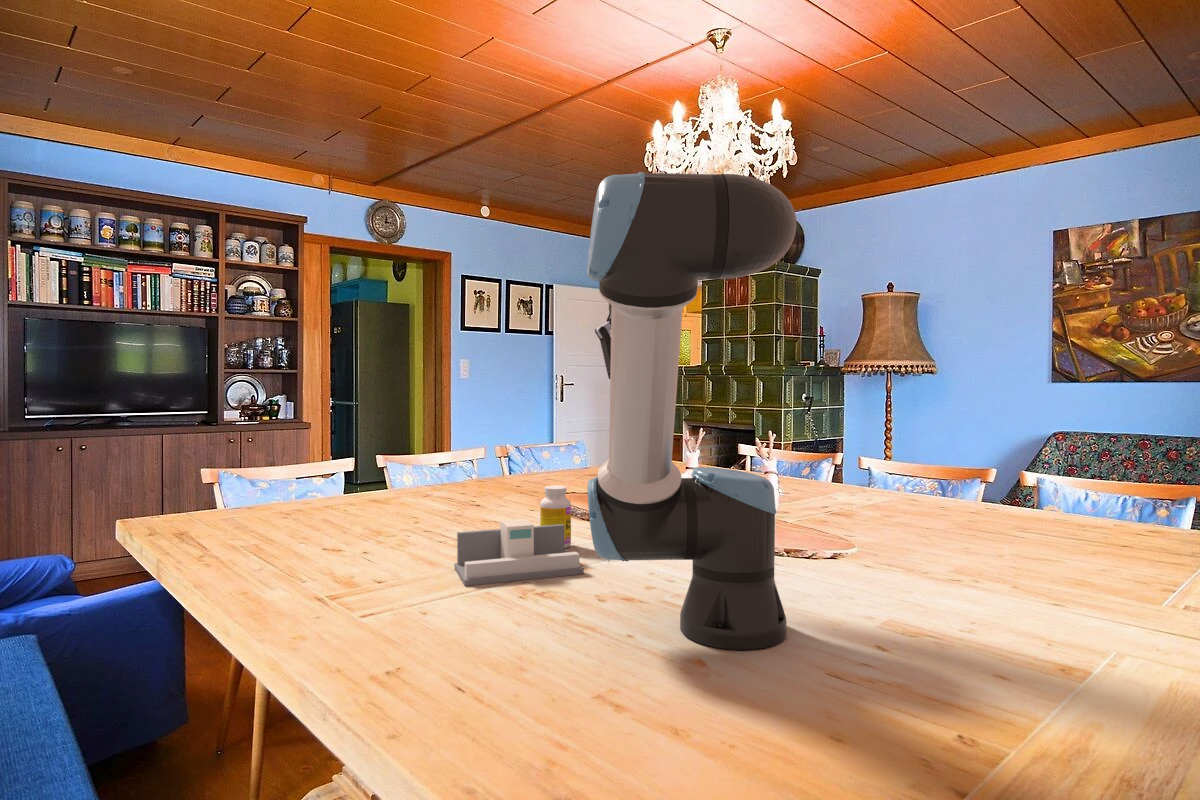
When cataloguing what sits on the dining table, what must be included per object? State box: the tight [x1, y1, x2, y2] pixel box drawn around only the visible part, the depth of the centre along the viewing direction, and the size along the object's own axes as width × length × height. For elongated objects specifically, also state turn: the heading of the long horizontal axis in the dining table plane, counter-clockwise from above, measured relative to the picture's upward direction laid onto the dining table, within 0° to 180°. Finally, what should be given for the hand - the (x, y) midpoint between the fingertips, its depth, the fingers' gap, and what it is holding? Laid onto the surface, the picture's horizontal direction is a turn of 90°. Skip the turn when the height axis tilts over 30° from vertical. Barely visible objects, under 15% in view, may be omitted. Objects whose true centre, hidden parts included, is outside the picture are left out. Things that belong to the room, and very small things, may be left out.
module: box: [499, 518, 535, 558], centre depth 135 cm, size 6×5×8 cm
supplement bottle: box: [539, 485, 572, 549], centre depth 153 cm, size 7×7×13 cm
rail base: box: [453, 524, 585, 587], centre depth 134 cm, size 12×22×7 cm, turn 110°
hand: (629, 419), depth 130 cm, fingers closed
